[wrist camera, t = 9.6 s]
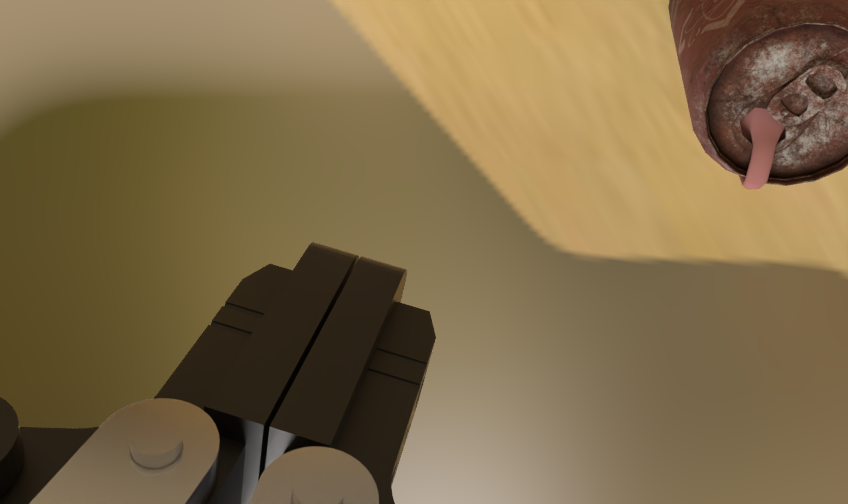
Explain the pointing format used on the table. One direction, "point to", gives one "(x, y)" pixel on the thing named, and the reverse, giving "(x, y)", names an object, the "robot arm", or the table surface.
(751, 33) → the can
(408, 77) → the table surface
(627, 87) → the table surface
